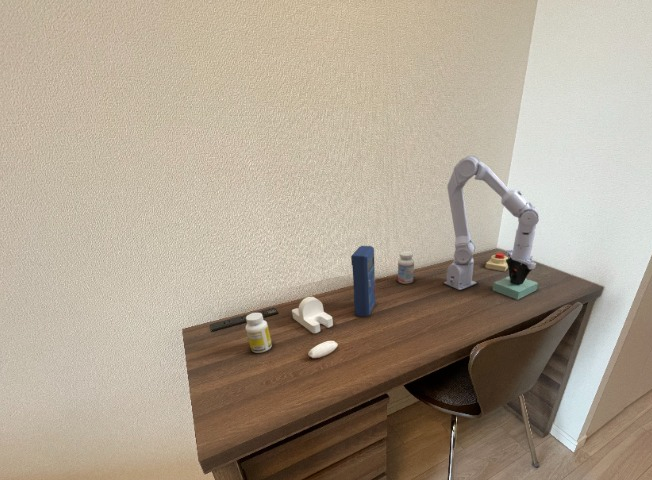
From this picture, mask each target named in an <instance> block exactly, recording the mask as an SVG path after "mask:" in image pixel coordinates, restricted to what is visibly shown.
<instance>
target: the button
mask: <svg viewBox="0 0 652 480" xmlns="http://www.w3.org/2000/svg"><path fill="white" fill-rule="evenodd" d="M494 255H495V258H497V259H504V256H506V253H503V252H496V253H495V254H494Z"/></svg>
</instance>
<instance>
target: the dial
mask: <svg viewBox="0 0 652 480" xmlns="http://www.w3.org/2000/svg"><path fill="white" fill-rule="evenodd" d="M510 283H512V284H515V285H520V284H517V270H516V269H514V270H513V271H512V273H511V279H510Z"/></svg>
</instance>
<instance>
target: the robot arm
mask: <svg viewBox="0 0 652 480" xmlns="http://www.w3.org/2000/svg"><path fill="white" fill-rule="evenodd" d="M474 176H475V177H474ZM473 177H474V180H476V181H483V182H485V184H487V185H488V187H490V188H491V189H492V190H493V191H494V192H495V193H496V194H497V195H498V196H499V197H500V198H501V199H500V203H501V205H502V206H503V207H504V208H505V209H506V210H507V211H508V212H509V213H510V214H511V215H512V216H513V217H515V218H517V219H518V220H517V221H518V225H517V229H516V230H515V237H514V243H513V248H512V249H507V250H506V253H505V256H507V257H509V258H508V259H506V262H507V265H508V268H507V269H508V276H509V277H510V279H511V273H512V271H513V270H514V269H516V270H517V284H523V282H524V281H525V279H527V277H528V275H529V274H530V273H531V272H532V270H536V268H537V267H536V266H537V263H536V262H535V261H534V260H533V255H531V253H532V249H533V244H534V239H535V234H536V231H535V230H536V228H537V225H538V223H539V221H540V220H539V212H538V209H536V207H535V206H534V205H533V203H532V202H531V201H530V202H529V201H528V200H526V199H525V197H524V196H523V192H522V191H521V190H517V189H510V188H508V187H507V185H506V184H505V183H504V182H503V181H502V180H501V178H499V176H497V175H496V173H495V172H494V171H493V170H492V169H491V168H490V167H489V166H488V165H487V164H486V163H485V162H484V161H482V160H481V161H480V159H479V158H478V157H477V156H475V155H467V156H465V157H462V158H461V159H460V160H459V161H458V162H457V164H456V165H455V166H454V167H453V170H452V174H451V175H450V178H449V180H448V183H447V185H446V186H447V187H446V188H447V193H448V200H449V206H450V212H451V218H452V224H453V232H454V236H455V237H454V238H455V241H454V246H455V250H454V253H453V261H452V263H451V264H449V265H448V267H447V269H446V279H445V281H444V282H443V284H445V285H447V286H449V287H452V288H454V289H456V290H458V291H462V290H464V289H467V288H469V287H472V286H474V285H477V281H474V280H473V275H474V267H475V265H474V264H475V259H474V257H473V255H474V253H475V251H476V245H475V243H474V242H473V241H472V236H471V234H470V229H469V222H468V216H467V215H468V214H467V209H466V202H465V195H464V187H465V186H466V185H467V183H468V182H469V180H470V179H472V178H473Z"/></svg>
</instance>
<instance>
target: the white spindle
mask: <svg viewBox="0 0 652 480" xmlns="http://www.w3.org/2000/svg"><path fill="white" fill-rule="evenodd" d="M338 345H339V344H338V343H337V342H336V341H335V340H327V341H323V342H321V343H319V344H317V345H315V346H314V347H312V348H311V349H310V350H309V351H308V352H307V353H308V356H309V357H310V358H312V359H319V358H322V357H325V356H327V355H330V354H331V353H332V352H334V351H335V350H336V349H337V347H338Z"/></svg>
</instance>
